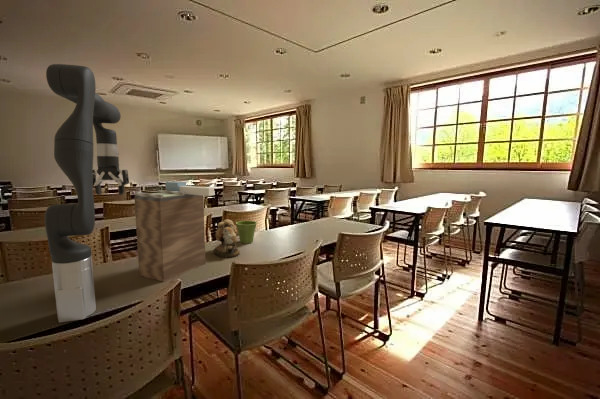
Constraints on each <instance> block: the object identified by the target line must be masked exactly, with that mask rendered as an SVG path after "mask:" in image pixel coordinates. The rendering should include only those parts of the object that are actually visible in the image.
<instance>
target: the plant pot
mask: <svg viewBox="0 0 600 399" xmlns="http://www.w3.org/2000/svg"><path fill="white" fill-rule="evenodd" d="M257 224H258V222H257V221H255V220H240V221H236V222H235V225H236V227H237V233H238V237H239V238H238V239H239V242H240V243H241V244H252V243H253V242H254V238H255V231H256V227H257Z"/></svg>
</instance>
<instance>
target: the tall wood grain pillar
mask: <svg viewBox="0 0 600 399" xmlns="http://www.w3.org/2000/svg"><path fill="white" fill-rule="evenodd" d="M134 211H135V226H136V229H135V230H136V243H137V245H136V246H137V259H138V260H137V262H138V274H139V276H141V277H144V278H149V279H153V280H157V281H160V282H166V281H169V280H171V279H174V278H176V277H179V276H180V275H183V274H185V273H187V272H190V271H192V270H194V269H196V268H198V267H201V266H203V265H206V241H205V238H206V237H205V234H206V233H205V205H204V196H203V195H192V194H184V192H177V191H166V189H165V190H163V189H158V190H157V192H153V193H150V192H149V193H148V192H139V191H138V192H135V195H134Z"/></svg>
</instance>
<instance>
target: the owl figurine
mask: <svg viewBox="0 0 600 399" xmlns="http://www.w3.org/2000/svg"><path fill="white" fill-rule="evenodd" d="M238 235H239V233H238V228H237V225H236V224H235V223H234V221H233V220H231V219H224V220H223V221H221V222H218V223H217V229H216V231H215V239H216V241H218V242H220V243H219V244H218V246H216V247H215V248H214V249H213V250H212V251H213V252H212V253H213V254H214V255H215V256H217V257H219V258H221V259H222V258H224V259H226V258H227V259H233V258H237V257H239V256H240V250H239V248H237V246H236V245H237V236H238ZM238 255H239V256H238ZM236 256H237V257H236ZM232 257H233V258H232Z"/></svg>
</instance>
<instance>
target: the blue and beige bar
mask: <svg viewBox="0 0 600 399" xmlns="http://www.w3.org/2000/svg"><path fill="white" fill-rule="evenodd" d="M165 191H177V192H184V194H192V195H203V197H211V196H215V188H214V187H208V186H207V187H206V186H193V185H192V186H191V185H187V182H186V181H176V180H175V181H165Z"/></svg>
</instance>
